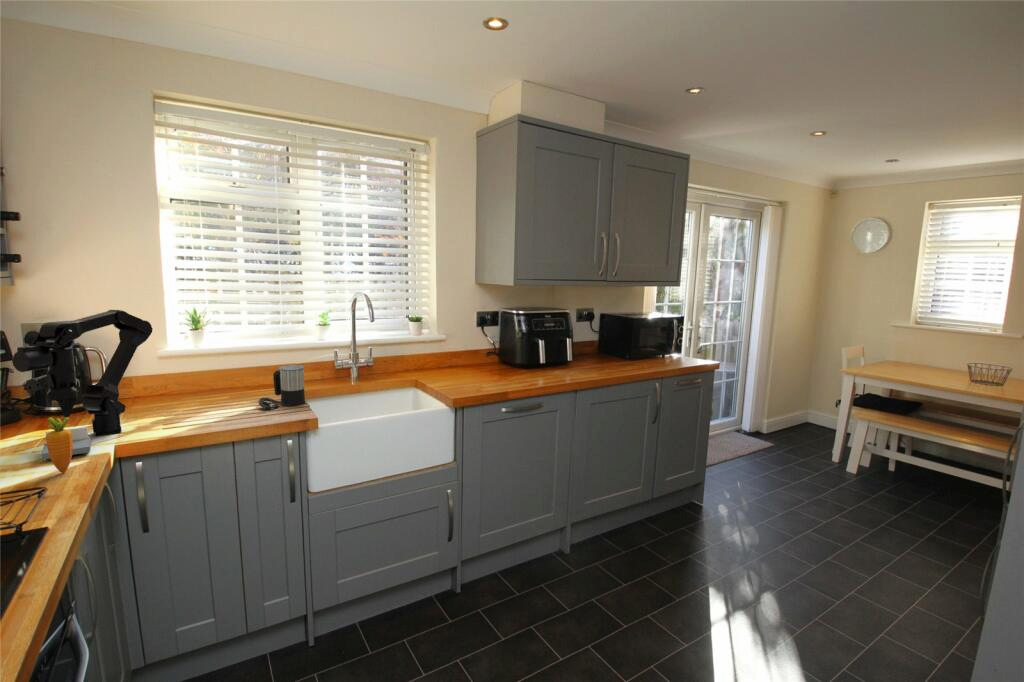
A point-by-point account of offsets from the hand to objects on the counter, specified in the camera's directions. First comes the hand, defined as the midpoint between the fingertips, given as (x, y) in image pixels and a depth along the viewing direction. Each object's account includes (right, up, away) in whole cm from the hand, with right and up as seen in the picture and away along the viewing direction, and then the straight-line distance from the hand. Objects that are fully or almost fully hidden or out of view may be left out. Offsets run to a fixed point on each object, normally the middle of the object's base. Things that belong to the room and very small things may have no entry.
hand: (67, 416), depth 147 cm
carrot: (+16, -12, -19) cm, 27 cm away
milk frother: (+42, -3, +48) cm, 64 cm away
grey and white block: (+5, -10, -6) cm, 12 cm away
